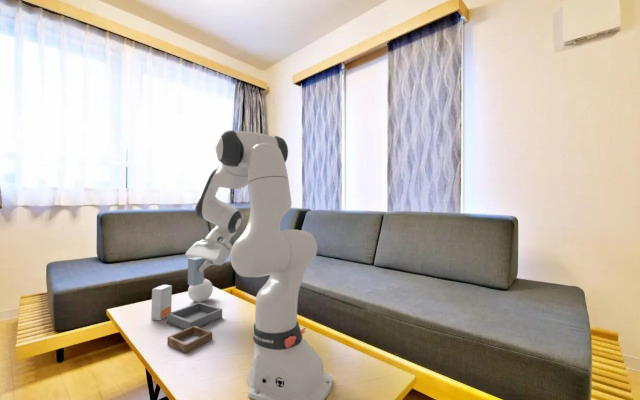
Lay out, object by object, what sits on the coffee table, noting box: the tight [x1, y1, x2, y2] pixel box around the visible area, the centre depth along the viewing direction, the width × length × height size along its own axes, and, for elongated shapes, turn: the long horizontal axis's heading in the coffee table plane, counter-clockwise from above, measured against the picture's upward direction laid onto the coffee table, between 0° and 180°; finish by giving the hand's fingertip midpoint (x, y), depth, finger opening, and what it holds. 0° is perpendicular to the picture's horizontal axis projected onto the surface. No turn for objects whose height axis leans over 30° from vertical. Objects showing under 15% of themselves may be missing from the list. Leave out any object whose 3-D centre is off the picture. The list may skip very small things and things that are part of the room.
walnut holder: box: [167, 325, 213, 354], centre depth 89 cm, size 10×10×2 cm
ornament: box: [187, 277, 214, 303], centre depth 125 cm, size 10×10×12 cm
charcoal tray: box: [166, 302, 223, 331], centre depth 105 cm, size 14×14×4 cm
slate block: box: [187, 257, 205, 286], centre depth 105 cm, size 4×4×10 cm
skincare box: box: [150, 284, 173, 321], centre depth 107 cm, size 6×4×12 cm
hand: (194, 270), depth 104 cm, fingers closed on slate block, 4 cm apart
